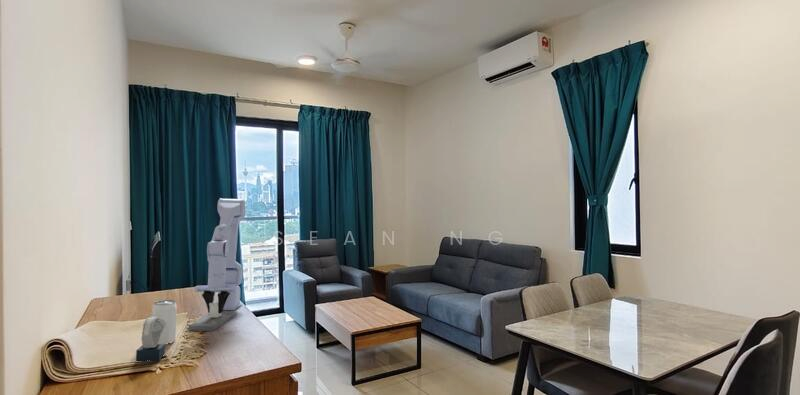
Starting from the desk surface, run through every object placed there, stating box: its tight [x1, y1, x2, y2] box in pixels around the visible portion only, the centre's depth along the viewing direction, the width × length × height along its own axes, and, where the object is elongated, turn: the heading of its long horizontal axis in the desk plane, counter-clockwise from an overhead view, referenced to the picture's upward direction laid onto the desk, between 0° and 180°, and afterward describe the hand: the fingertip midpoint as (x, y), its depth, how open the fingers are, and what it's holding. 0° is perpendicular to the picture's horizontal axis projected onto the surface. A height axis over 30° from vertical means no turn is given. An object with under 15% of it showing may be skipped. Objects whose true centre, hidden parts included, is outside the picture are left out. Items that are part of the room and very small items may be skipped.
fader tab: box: [208, 300, 222, 318], centre depth 146 cm, size 4×3×5 cm
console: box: [188, 311, 235, 332], centre depth 144 cm, size 18×8×2 cm, turn 1°
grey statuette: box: [135, 316, 166, 362], centre depth 110 cm, size 6×8×11 cm
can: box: [151, 299, 178, 344], centre depth 123 cm, size 6×6×12 cm
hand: (215, 312), depth 146 cm, fingers closed on fader tab, 3 cm apart
